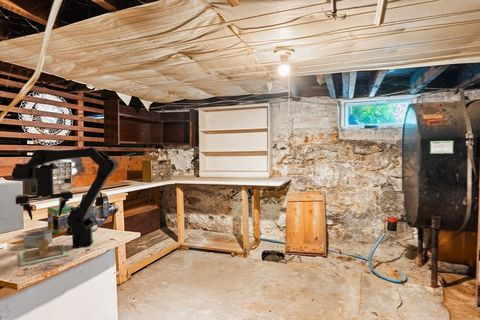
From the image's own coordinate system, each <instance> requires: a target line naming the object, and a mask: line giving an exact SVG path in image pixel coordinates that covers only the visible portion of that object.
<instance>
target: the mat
mask: <svg viewBox="0 0 480 320" xmlns="http://www.w3.org/2000/svg"><path fill="white" fill-rule="evenodd" d="M58 245H59V246H60V248H61V250H62V252H63V255H58V256H53V257H49V258H44V259H39V260H35V261H30V262H26V258H25V251H22V252H19V264H20V267H21V268H22V267H25V266H29V265H30V266H31V265H34V264H39V263H44V262H49V261H53V260H58V259H62V258H66V257H69V253H68V252H67V250H66V248H65V246H64V244H62V243H61V244H58Z"/></svg>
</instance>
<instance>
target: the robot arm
mask: <svg viewBox="0 0 480 320" xmlns="http://www.w3.org/2000/svg"><path fill="white" fill-rule="evenodd" d="M77 158H90V159H91V160H92V161H93V162H94V163H95V164H96V165H97V166H98V168H97V171H96V176H95V179H94V180H93V181H92V184H91V185H90V187H89V189H88V191H87V192H86V194H85V195H84V198H83V199H82V201H81V202H80V205H78V206H74V207H75V208H73V209H72V210H71V212H70V214H69V216H68V217H67V218H68V219H67V224H68V226H69V227H70V228H71V233H72V239H71V240H72V241H71V242H72V248H73V249H74V248H86V247H91V245H92V244H93V243H94V239H93V227H94V224H95V221H93V220H92V219H90V215H91V211H92V210H91V208H92V207H93V205H94V203H95V202H96V200H97V198H98V197H99V194H100V193H101V191H102V189H103V187H104V185H105V184H106V182H107V181H108V179H109V178H110V177H112V175H114V173H115V172H116V171H117V170H118V168H119V166H120V165H119V162H118V160H117V159H116V158H113V157H110V156H108V155H107V154H106V153H104V152H102V151H100V150H99V149H98V148H97V147H92V146H91V147H87V148H75V149H63V150H62V149H61V150H60V149H59V150H58V149H45V148H44V149H36V150H34V151H33V152H32V156H31V158H30V159H29V161H28V162H27V163H15V165H14V166H15V167H14V168H13V169H12V172H11V178H12V179H13V180H14V181H33V180H34V179H35V185H34V184H32V185H30V194H35V195H29V194H27V193H25V194H17V195H15V205H19V206H20V207H24V209H25V210H26V212H27V214H28V216H29V218H30V220H31V221H33V213H32V207H31V204H30V202H31V201H40V200H41V201H42V200H52V199H58V201H59V202H58V206H59V210H58V216H60V214H61V212H62V209H63V207H64V205H66V204H67V202H69V201H70V200H72V199H73V195H74V194H73V192H72V191H70V190H61V191H59V193H54V170H56V169H59V168H60V167H59V166H58V165H56V164H55V162H58V161H61V160H67V159H68V160H69V159H77ZM65 203H66V204H65Z"/></svg>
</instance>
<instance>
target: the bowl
mask: <svg viewBox="0 0 480 320" xmlns="http://www.w3.org/2000/svg"><path fill="white" fill-rule="evenodd" d="M46 239H47V241H48V245H49V244H51V243H52V242H53V233H52V232H51V230H48V229H42V230H40V229H39V230H34V231H30V232H28V233H25V234H23V243H24V247H25V248H27V249H33V248H35V249H36V248H39V241H40V240H46Z"/></svg>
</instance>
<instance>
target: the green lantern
mask: <svg viewBox="0 0 480 320" xmlns="http://www.w3.org/2000/svg"><path fill="white" fill-rule="evenodd" d="M72 207H74V206H73V205H70V204H69V205H68V204H67V202H66V203H65V205H64V207H63V209H62V212H61V214H60V215H62V214H67V213H70V212H71V208H72ZM58 210H59V205H58V206H50V207H47V230H51V232H52V234H55V235H58V234H61V233H66V231H67V229H60V230H53V216H57V215H58ZM67 232H68V231H67Z"/></svg>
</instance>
